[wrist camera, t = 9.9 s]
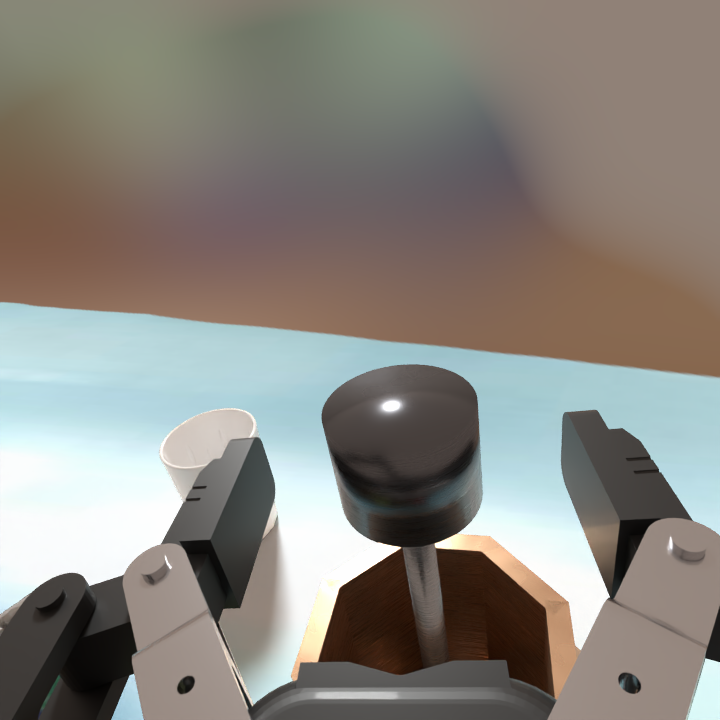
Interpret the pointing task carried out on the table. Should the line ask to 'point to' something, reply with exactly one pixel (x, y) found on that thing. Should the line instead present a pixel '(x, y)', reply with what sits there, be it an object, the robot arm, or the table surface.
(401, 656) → the press beaker
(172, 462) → the white cup
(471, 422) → the plunger
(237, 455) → the robot arm
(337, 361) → the table surface
